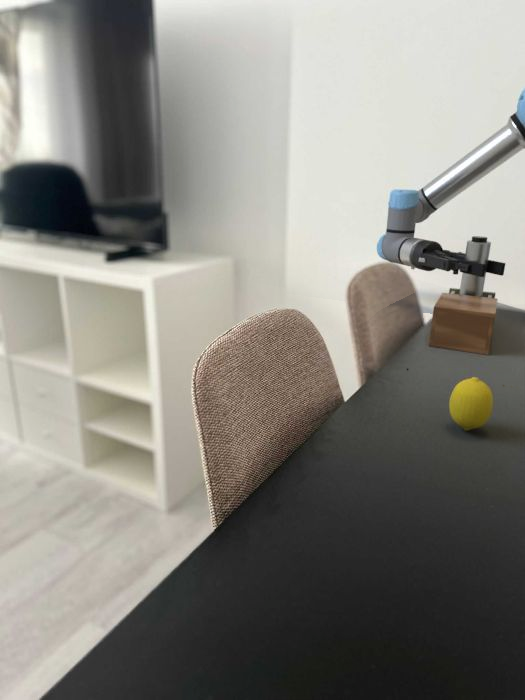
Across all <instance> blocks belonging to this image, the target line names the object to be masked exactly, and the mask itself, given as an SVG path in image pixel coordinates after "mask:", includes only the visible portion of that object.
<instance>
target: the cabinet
mask: <svg viewBox="0 0 525 700" xmlns="http://www.w3.org/2000/svg"><path fill="white" fill-rule="evenodd" d="M497 306H498V298H496V297H495V298H487V297H478V296H469V295H460V294H450V293H449V292H442V293H441V295H440V296H439V298H438V300H437V301H436V303H435V304H434V306H433V310H432V318H431V326H430V332H429V340H428V347H430V348H431V347H432V348H439V349H446V350H452V351H459V352H466V353H472V354H478V355H485V356H489V354H490V348H491V341H492V336H493V332H494V331H493V330H494V325H495V319H496V315H497Z"/></svg>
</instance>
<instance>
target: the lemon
mask: <svg viewBox="0 0 525 700" xmlns="http://www.w3.org/2000/svg"><path fill="white" fill-rule="evenodd" d="M448 406H449V415H450V416H451V419H452V420H453V422H454V423H456V424H457V425H458V426H460V427H461V428H462V430H465V431H466V432H467V431H468V432H469V431H470V430H472V429H478V428H481V427H482V426H483V425H485V424H486V423H487V422H488V421H489V419H490V418H491V415H492V413H493V408H494V407H493V406H494V400H493V392H492V390H491V388H490V387H489V385H487V384H486V382H484V381H482V380H481V379H480V378H479V377H477V376H472V377H471V378H465V379H463V380H461V381H460V382H458V383H457V384H456V385H455V386H454V388H453V390H452V392H451V394H450V398H449V402H448Z"/></svg>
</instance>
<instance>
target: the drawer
mask: <svg viewBox="0 0 525 700" xmlns="http://www.w3.org/2000/svg"><path fill="white" fill-rule="evenodd" d="M459 292H460V288H457V287H456V288H454V287H449V291H448V293H450V294H459ZM496 293H497V292H493V291H486V290H485V291H484V290H483V295H482V297H487V298H496Z"/></svg>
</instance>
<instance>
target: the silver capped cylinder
mask: <svg viewBox="0 0 525 700" xmlns="http://www.w3.org/2000/svg"><path fill="white" fill-rule="evenodd" d="M491 245H492V242H491V241H488V237H487V236H479V235H477V236H476V235H475V236H471V239H470V240H467V241H466V247H465V252H464V253H465V259H464V260H467V261H472V262H477V263H481V264H486V269H485V275H484V277H479V276H475V275H471V274H467V273H463V272H461V273H462V274H461V279H460V287H459V289H460V292H459V294H460V295H469V296H478V297H482V295H483V291H484V287H485V281H486V276H487V272H486V270H487V264H488V260H489V258H490V252H491Z"/></svg>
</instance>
